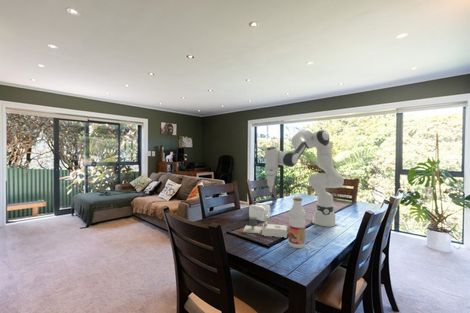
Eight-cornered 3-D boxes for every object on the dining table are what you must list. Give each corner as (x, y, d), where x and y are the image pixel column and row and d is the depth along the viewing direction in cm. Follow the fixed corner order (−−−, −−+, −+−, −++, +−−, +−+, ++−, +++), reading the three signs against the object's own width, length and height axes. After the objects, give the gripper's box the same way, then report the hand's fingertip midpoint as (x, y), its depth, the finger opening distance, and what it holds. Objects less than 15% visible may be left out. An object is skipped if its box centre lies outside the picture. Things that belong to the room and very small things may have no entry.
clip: (263, 225, 149) (263, 215, 149) (264, 220, 160) (264, 210, 160) (267, 226, 148) (267, 215, 148) (267, 221, 159) (268, 211, 159)
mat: (245, 226, 163) (245, 225, 163) (262, 227, 160) (262, 226, 160) (242, 232, 151) (242, 231, 151) (260, 233, 149) (260, 232, 149)
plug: (250, 227, 158) (250, 216, 158) (260, 228, 157) (260, 217, 157) (249, 229, 154) (249, 218, 154) (260, 230, 152) (260, 219, 152)
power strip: (262, 230, 155) (263, 222, 155) (286, 232, 151) (286, 224, 151) (261, 235, 146) (261, 227, 146) (286, 237, 143) (287, 229, 142)
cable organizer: (270, 219, 181) (271, 205, 180) (263, 222, 173) (263, 207, 173) (256, 215, 191) (256, 202, 190) (248, 218, 183) (248, 204, 183)
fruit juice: (306, 249, 127) (307, 200, 126) (289, 248, 127) (291, 199, 127) (302, 242, 136) (303, 196, 136) (287, 241, 137) (288, 196, 136)
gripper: (267, 168, 164) (267, 186, 165) (265, 172, 144) (265, 193, 146) (276, 168, 163) (276, 187, 164) (275, 173, 143) (275, 194, 144)
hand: (271, 190), depth 155 cm, fingers open, 8 cm apart
